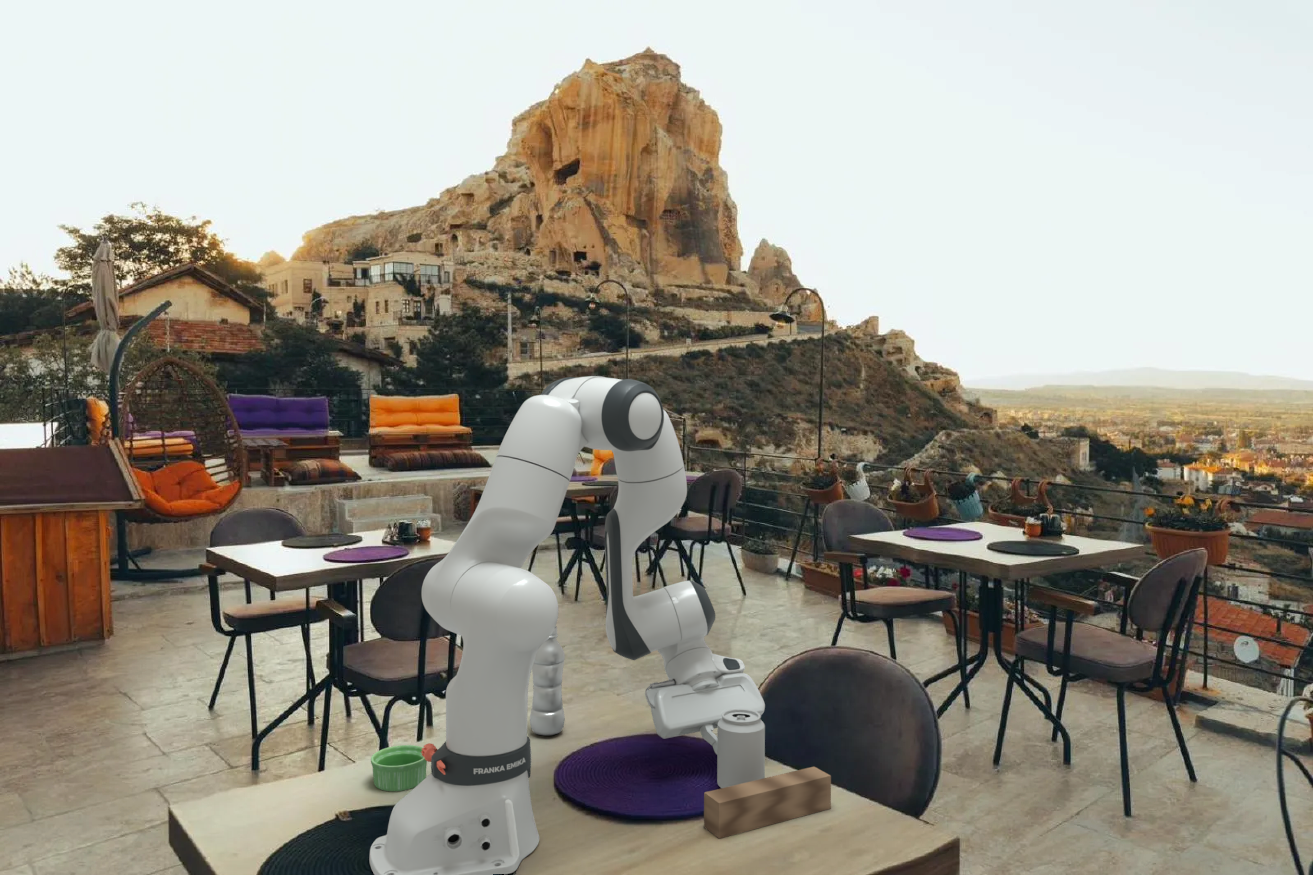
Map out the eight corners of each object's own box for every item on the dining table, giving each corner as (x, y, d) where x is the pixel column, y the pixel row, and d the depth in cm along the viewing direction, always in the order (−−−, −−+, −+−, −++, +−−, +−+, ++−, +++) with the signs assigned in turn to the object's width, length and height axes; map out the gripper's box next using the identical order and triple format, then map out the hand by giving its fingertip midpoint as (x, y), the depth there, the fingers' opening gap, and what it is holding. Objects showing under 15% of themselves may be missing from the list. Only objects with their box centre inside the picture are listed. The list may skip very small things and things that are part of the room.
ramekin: (358, 789, 138) (358, 761, 138) (393, 767, 146) (393, 742, 146) (406, 797, 135) (406, 769, 135) (439, 775, 143) (439, 748, 143)
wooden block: (719, 838, 121) (719, 803, 121) (703, 827, 125) (704, 792, 125) (830, 808, 131) (830, 775, 131) (813, 798, 134) (814, 766, 134)
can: (764, 780, 141) (764, 707, 141) (764, 800, 134) (765, 722, 134) (718, 778, 142) (718, 705, 142) (716, 797, 135) (716, 720, 135)
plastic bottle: (552, 724, 167) (552, 621, 167) (571, 734, 162) (571, 627, 162) (523, 732, 163) (523, 626, 163) (542, 742, 158) (542, 633, 157)
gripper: (648, 675, 143) (677, 754, 135) (750, 658, 153) (783, 731, 145) (635, 694, 147) (663, 772, 139) (735, 677, 157) (767, 749, 149)
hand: (725, 751), depth 142 cm, fingers closed, pressing on can
